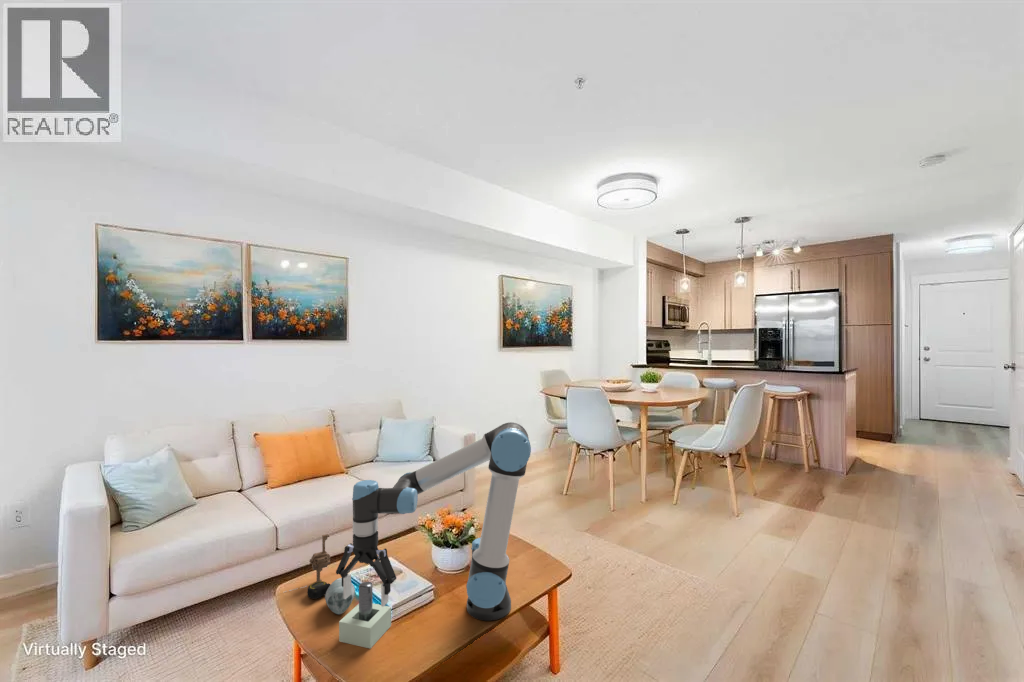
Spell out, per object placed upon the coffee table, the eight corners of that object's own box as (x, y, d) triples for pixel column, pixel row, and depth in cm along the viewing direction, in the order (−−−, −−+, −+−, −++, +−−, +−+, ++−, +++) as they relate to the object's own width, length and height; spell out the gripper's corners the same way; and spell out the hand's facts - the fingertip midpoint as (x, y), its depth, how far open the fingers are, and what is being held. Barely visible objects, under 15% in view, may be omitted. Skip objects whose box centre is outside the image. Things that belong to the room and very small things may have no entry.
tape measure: (314, 602, 152) (313, 591, 153) (303, 597, 156) (303, 586, 157) (332, 593, 158) (331, 583, 158) (321, 589, 162) (321, 578, 162)
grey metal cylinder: (375, 630, 139) (375, 582, 139) (367, 638, 135) (367, 589, 135) (364, 628, 140) (364, 580, 140) (356, 636, 136) (356, 587, 136)
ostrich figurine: (328, 577, 170) (328, 530, 170) (331, 585, 164) (331, 537, 164) (278, 590, 161) (278, 541, 161) (280, 599, 156) (280, 548, 156)
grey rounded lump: (355, 612, 144) (355, 578, 148) (323, 618, 141) (324, 583, 144) (354, 605, 156) (354, 574, 160) (325, 611, 153) (326, 579, 156)
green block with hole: (391, 625, 141) (391, 606, 141) (370, 648, 130) (370, 628, 130) (361, 619, 144) (361, 601, 144) (339, 641, 134) (339, 621, 134)
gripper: (407, 531, 137) (407, 600, 137) (339, 522, 145) (340, 587, 145) (394, 542, 130) (394, 614, 130) (323, 532, 137) (324, 600, 137)
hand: (365, 600), depth 137 cm, fingers open, 13 cm apart
